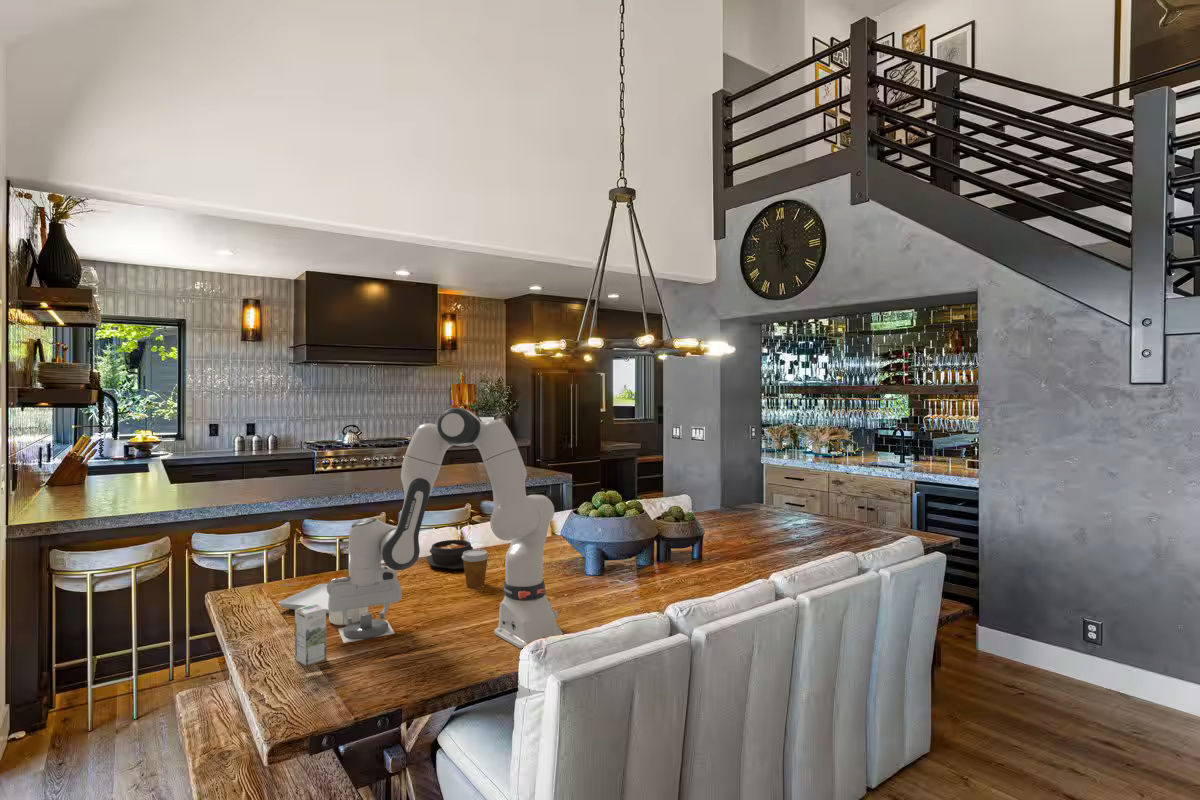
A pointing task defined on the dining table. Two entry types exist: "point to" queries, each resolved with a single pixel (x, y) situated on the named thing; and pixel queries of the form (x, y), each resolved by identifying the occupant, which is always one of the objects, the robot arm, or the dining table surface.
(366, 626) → the lid
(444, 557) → the casserole
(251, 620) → the dining table surface
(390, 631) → the mat
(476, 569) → the disposable coffee cup
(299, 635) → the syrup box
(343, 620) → the bowl
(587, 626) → the dining table surface
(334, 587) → the robot arm
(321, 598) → the salad plate
